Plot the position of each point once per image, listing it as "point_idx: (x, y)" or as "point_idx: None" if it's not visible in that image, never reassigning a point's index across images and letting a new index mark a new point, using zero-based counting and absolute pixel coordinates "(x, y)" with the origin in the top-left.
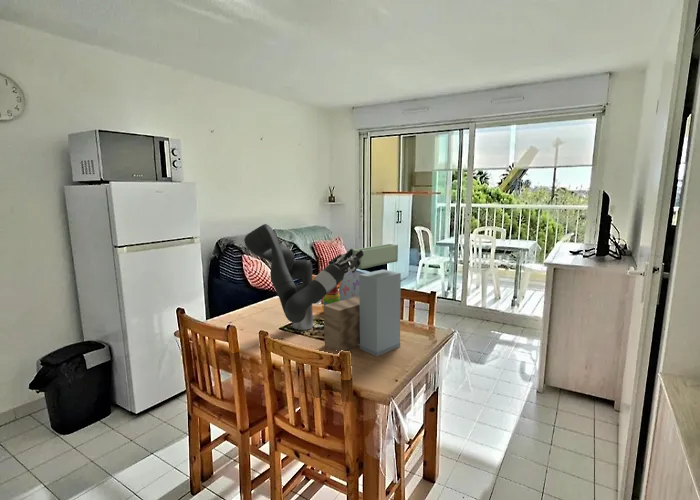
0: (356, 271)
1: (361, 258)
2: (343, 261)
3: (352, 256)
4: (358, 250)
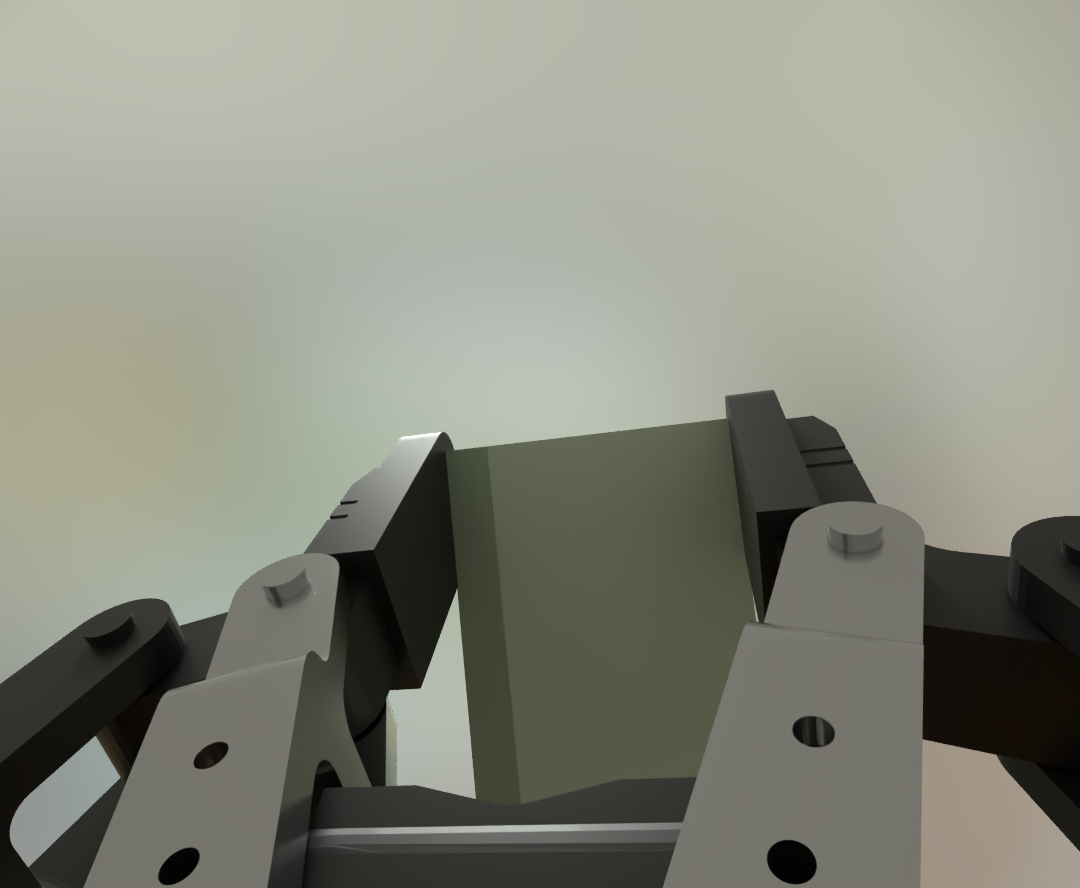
0: None
1: (752, 608)
2: (506, 881)
3: (465, 615)
4: (631, 432)
